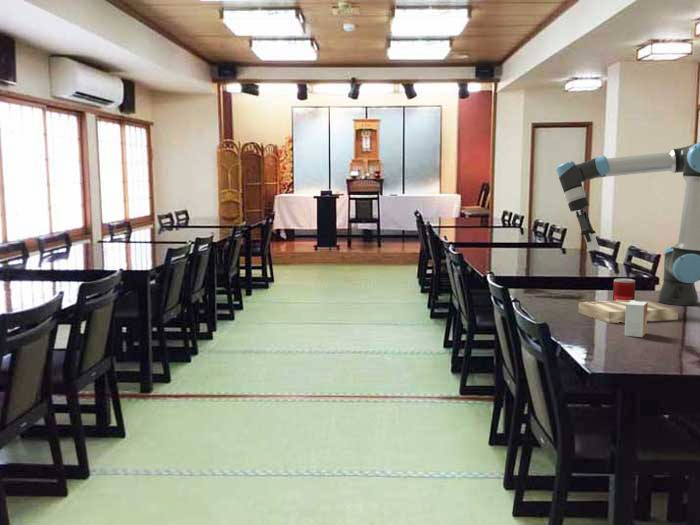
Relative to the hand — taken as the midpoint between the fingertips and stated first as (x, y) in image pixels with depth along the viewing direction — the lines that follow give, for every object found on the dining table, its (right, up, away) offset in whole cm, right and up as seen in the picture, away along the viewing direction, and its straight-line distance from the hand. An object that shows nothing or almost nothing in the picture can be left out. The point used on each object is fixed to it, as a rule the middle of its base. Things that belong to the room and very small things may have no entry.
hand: (594, 249), depth 271 cm
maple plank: (+6, -25, -18) cm, 31 cm away
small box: (-4, -29, -48) cm, 56 cm away
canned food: (+12, -23, +1) cm, 26 cm away
